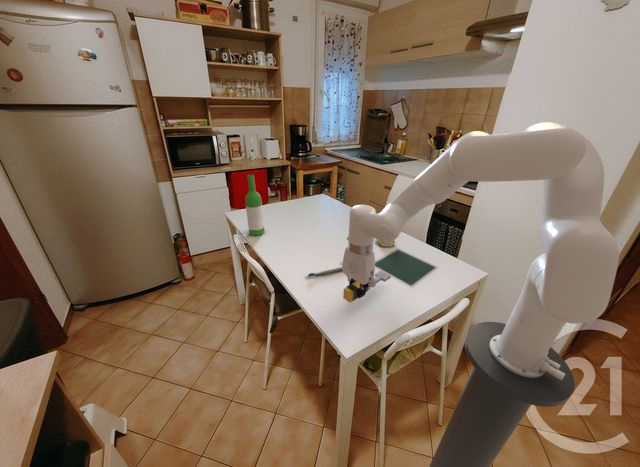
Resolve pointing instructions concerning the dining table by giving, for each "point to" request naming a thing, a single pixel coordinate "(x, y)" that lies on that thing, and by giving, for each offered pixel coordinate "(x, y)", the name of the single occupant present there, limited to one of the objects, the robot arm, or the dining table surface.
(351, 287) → the yellow striped handle
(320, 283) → the dining table surface
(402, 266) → the mat
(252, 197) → the wine bottle
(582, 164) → the robot arm
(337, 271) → the tomahawk
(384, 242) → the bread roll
